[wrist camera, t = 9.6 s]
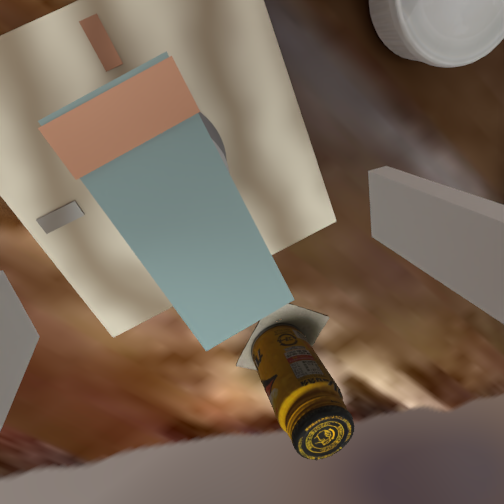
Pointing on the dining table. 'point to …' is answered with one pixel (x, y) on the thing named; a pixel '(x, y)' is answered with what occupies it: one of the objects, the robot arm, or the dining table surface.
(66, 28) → the post base
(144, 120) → the teal block on base
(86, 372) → the dining table surface
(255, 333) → the condiment
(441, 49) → the ramekin
